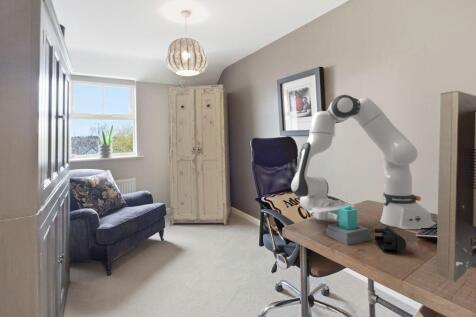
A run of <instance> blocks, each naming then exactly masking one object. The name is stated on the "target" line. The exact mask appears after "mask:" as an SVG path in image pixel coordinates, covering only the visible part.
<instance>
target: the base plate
mask: <svg viewBox="0 0 476 317" xmlns="http://www.w3.org/2000/svg"><path fill="white" fill-rule="evenodd" d="M325 229H326V231H325V233H326V234H325V235H326V236H328V237H329V238H332V239H334V240H336V241H338V242H340V243H343V244H344V245H346V246H349V245H353V244H359V243H363V242H367V241H371V239H372V238H371V237H372V236H371V235H372V234H371V232H370V230H369V228H368V227H365V226H362V225H359V224H357V229H353V230H348V231H347V230H345V229H342V228H340V227H339V222H335V223H331V224H327V227H326V228H325Z"/></svg>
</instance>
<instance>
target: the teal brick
mask: <svg viewBox="0 0 476 317" xmlns="http://www.w3.org/2000/svg"><path fill="white" fill-rule="evenodd" d="M338 211H339V219H338V223H339V227H340V228H342V229H345V230H347V231H348V230H353V229H357V225H358V209H357V208H356V209H353V208H351V206H344V207H343V208H338Z"/></svg>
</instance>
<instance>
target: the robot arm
mask: <svg viewBox="0 0 476 317" xmlns="http://www.w3.org/2000/svg"><path fill="white" fill-rule="evenodd" d="M350 118H351V119H354V120H355V121H356V122H357V123H358V124H359V126H360V127H361V128H362V129H363V131H364V132H365V133H366V134H367V136H368V137H369V139H370V140H371V141H372V142H373V143H375V145H376V146H377V147H378V148H379V149H380V150H381V157H382V168H383V177H384V178H383V179H384V180H383V182H384V183H383V184H384V186H383V187H384V191H383V193H382V194H383V195H382V203H383V208H382V209H383V210H382V212H381V214H382V215H381V218H380V222H381V223H382V224H384V225H386V226H388V227H394V228H399V229H402V230H407V231H408V230H409V231H410V230H422V229H421V228H427V227H429V226H431V225H433V224H437V222H435V221H433V220H432V215H431V213H430V211H429V210H427V208H424V206H423V205H421V204H419V203H418V202H420V201H421V200H422V197H421V196H419V195H415V194H413V176H412V172H411V169H410V164H412V163H414V162H415V161H416V160H417V158H418V155H419V154H418V153H419V152H418V149H417V148H416V147H415V145H414V144H412V142H411V141H410V140H409V139H408V138H407V137H406V135H404V134H403V132H401V131H400V130H399V129H398V128H397V127H396V126H395V125H394V124H393V123H392V122H391V120H390V119H389V118H388V116H387V115H386V114H385V112H383V110H382V109H381V108H380V107H379V106H378V105H377V104H376V103H375V102H374V101H373V100H372V99H370V98H368V97H363V98H359V99H358V98H356V97H353V96H351V95H349V94H342V95H338V96H336V97H335V98H334V99H333V100H332V101H331V103H330V104H329V106H328V108H327V109H326V110H325V111H324V110H320V111H317V112H315V113H314V114H313V115H312V119H311V122H310V126H309V135H308V138H307V140H306V142H304V143H303V144H302V146H301V149H300V152H299V155H298V159H297V163H296V167H295V171H294V175H293V177H292V180H291V183H290V189H291V191H292V193H293V194H294V195H295V196H296V197H298V198H299V204H300V206H301V208H302V209H304V210H305V211H307V212H308V213H309V214H311V216H312V217H313V218H315V219H317V220H327V219H333V220H339V211H338V208H343V207H344V206H351V208H353V209H357V207H356V205H355V204H352V203H349V202H345V201H343V200H342V199H339V198H337V199H335V198H334V199H333V198H327V197H328V195H329V194H328V193H329V184H328V181H327V180H326V178H325V177H322V176H307V173H308V170H309V165H310V162H311V160H312V157H314V156H315V155H318V154H320V153H323V152H326V151H327V150H328V149H330V147H331V146H332V143H333V139H334V138H333V135H334V128H335V124H338V123H342V122H344V121H347V120H348V119H350Z"/></svg>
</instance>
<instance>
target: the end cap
mask: <svg viewBox="0 0 476 317" xmlns="http://www.w3.org/2000/svg"><path fill="white" fill-rule="evenodd" d="M374 233H375V234H380V235H374V241H375V243H374V244H375V245H376V246H377V247H378V248H379V249H380V251H382V253H383V254H390V255H391V254H393V255H395V254H399V253H401V252H403V251H404V250H406V247H407V241H406V239H405V238H404V237H403V236H402V235H400V234H399V233H398V232H396V231H395V230H394V229H393V228H392V227H391V226H385V228H374Z"/></svg>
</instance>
